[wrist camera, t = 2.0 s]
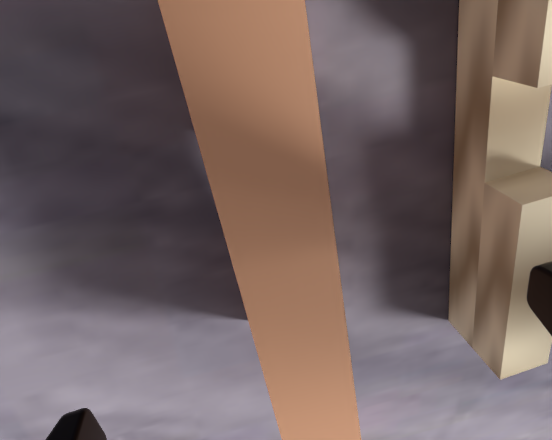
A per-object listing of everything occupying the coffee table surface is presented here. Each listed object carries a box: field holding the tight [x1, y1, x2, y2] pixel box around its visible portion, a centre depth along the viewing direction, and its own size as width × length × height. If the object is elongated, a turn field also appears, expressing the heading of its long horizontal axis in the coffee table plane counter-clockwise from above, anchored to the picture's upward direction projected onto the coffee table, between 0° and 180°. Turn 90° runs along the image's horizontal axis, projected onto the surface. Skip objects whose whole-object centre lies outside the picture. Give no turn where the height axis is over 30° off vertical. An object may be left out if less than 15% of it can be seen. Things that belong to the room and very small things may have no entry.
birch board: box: [448, 0, 552, 379], centre depth 16 cm, size 22×2×4 cm, turn 11°
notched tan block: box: [158, 0, 361, 440], centre depth 13 cm, size 14×2×7 cm, turn 11°
